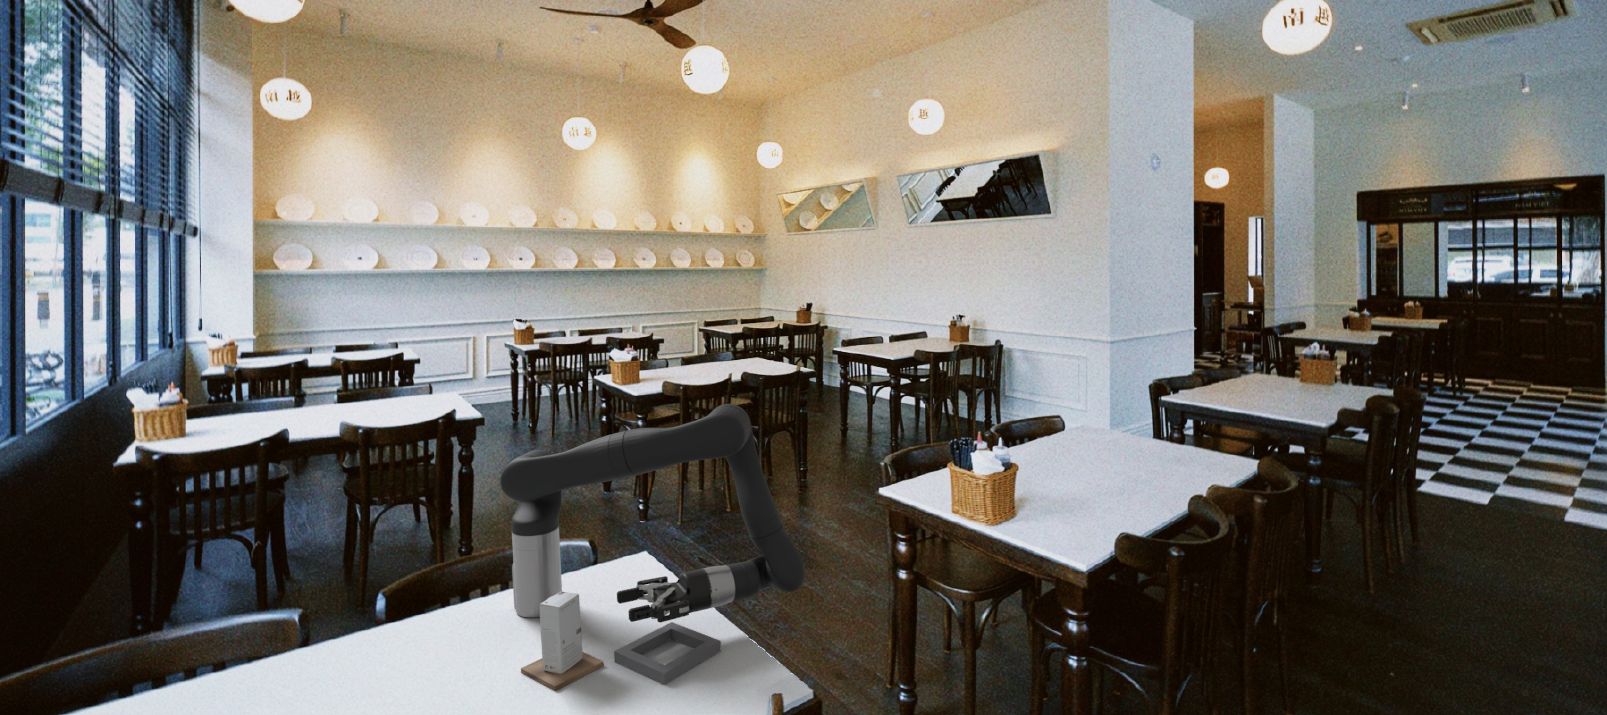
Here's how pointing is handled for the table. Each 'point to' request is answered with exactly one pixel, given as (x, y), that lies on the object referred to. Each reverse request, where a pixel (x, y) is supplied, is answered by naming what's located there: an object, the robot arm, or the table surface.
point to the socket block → (666, 673)
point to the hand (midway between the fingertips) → (623, 606)
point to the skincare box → (560, 632)
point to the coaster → (561, 680)
